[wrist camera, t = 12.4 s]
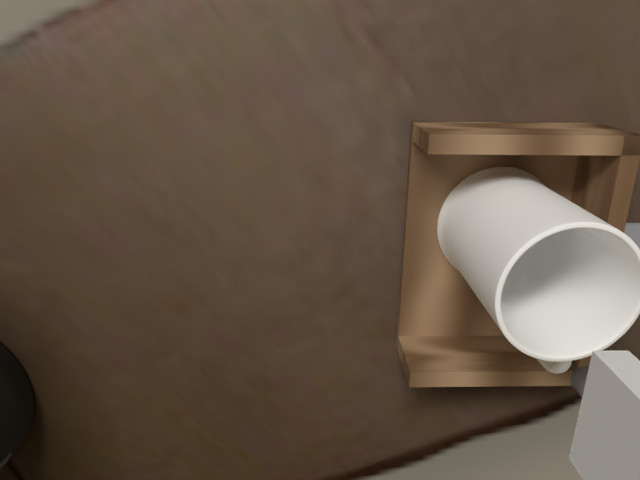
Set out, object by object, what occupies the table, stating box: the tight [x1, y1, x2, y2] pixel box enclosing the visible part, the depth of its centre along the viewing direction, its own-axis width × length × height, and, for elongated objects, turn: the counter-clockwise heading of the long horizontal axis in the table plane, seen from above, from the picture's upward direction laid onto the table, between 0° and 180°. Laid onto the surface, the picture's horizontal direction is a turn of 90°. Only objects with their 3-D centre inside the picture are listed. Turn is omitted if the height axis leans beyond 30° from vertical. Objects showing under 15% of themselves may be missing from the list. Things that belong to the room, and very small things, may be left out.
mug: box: [437, 167, 640, 374], centre depth 35 cm, size 12×8×12 cm
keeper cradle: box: [396, 121, 640, 398], centre depth 37 cm, size 13×18×9 cm
